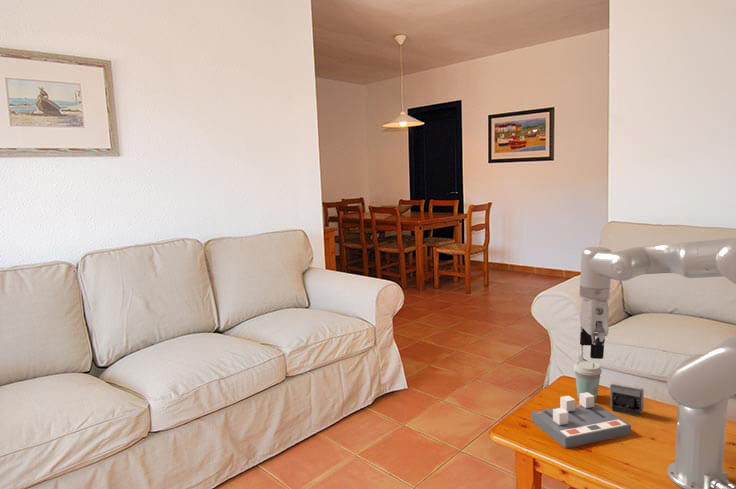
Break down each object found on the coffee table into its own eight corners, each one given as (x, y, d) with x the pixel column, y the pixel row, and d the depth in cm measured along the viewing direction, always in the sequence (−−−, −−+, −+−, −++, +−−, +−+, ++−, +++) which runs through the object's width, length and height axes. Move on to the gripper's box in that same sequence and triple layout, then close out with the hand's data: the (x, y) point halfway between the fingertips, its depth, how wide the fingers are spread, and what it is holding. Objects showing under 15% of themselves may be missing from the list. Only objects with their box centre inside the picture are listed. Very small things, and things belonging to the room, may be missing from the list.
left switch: (568, 423, 140) (568, 412, 139) (559, 425, 139) (559, 413, 138) (561, 418, 142) (561, 407, 142) (552, 420, 142) (553, 409, 141)
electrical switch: (643, 412, 151) (644, 385, 149) (642, 420, 147) (643, 393, 145) (610, 405, 156) (610, 379, 154) (608, 413, 152) (608, 387, 150)
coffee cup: (590, 406, 156) (591, 371, 154) (567, 397, 163) (568, 363, 161) (606, 399, 160) (607, 365, 158) (583, 390, 167) (584, 358, 166)
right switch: (594, 406, 149) (594, 396, 148) (585, 408, 148) (586, 397, 148) (587, 402, 152) (587, 392, 151) (579, 404, 151) (579, 393, 151)
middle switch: (574, 410, 147) (575, 399, 147) (566, 411, 146) (566, 401, 146) (568, 406, 150) (568, 395, 150) (560, 407, 149) (560, 396, 149)
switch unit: (630, 434, 138) (630, 424, 138) (565, 448, 133) (565, 437, 132) (591, 409, 154) (591, 400, 153) (531, 420, 148) (531, 411, 148)
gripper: (620, 301, 122) (616, 364, 125) (598, 284, 139) (595, 340, 142) (589, 300, 123) (586, 363, 126) (571, 284, 140) (568, 340, 143)
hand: (591, 351), depth 134 cm, fingers open, 9 cm apart
